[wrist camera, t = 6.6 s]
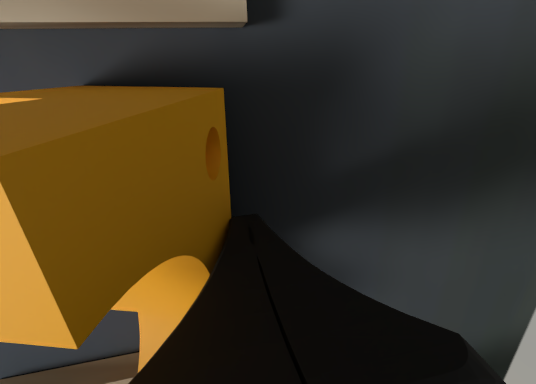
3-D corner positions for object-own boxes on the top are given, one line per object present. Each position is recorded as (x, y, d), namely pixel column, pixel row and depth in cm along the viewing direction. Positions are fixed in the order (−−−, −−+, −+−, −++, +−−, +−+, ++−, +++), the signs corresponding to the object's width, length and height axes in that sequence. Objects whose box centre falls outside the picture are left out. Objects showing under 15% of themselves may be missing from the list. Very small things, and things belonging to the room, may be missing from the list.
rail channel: (260, 343, 15) (265, 364, 13) (11, 394, 13) (-7, 425, 11) (239, -22, 8) (244, -37, 6) (-329, -36, 6) (-457, -60, 5)
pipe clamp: (80, 85, 8) (-518, 139, 2) (223, 88, 8) (-11, 160, 2) (152, 347, 13) (39, 573, 7) (239, 355, 13) (193, 598, 7)
